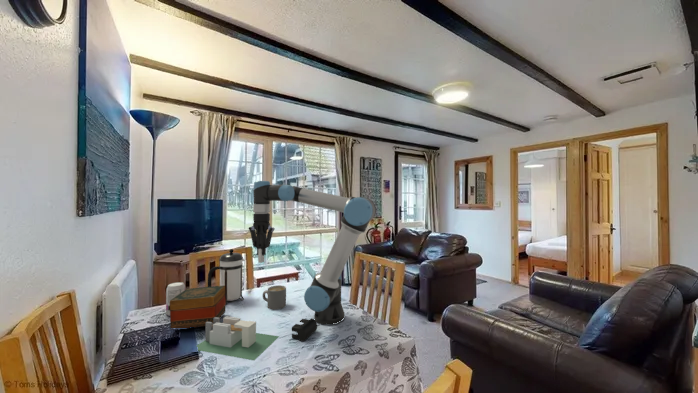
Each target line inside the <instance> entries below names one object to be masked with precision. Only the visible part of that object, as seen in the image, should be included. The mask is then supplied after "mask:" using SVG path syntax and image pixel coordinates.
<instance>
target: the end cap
mask: <svg viewBox="0 0 698 393" xmlns="http://www.w3.org/2000/svg"><path fill="white" fill-rule="evenodd" d="M299 322H300V323H302V324H299V323H295V324H294V325H292V327H291V331H292V332H293V333H292V334H291V338H292V339H295V340H299V342H302V343H303V342H305V341H306V340H307V339H308V338H309V337H310V336H312V335H313V334H314V333H315V332H317V330H318V323H317V322H316V321H315V320H314V318H310V319H306V318H302V319H300V320H299ZM294 332H295V333H296V334H295V333H294Z"/></svg>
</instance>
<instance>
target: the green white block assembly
mask: <svg viewBox="0 0 698 393" xmlns="http://www.w3.org/2000/svg"><path fill="white" fill-rule="evenodd" d="M222 320H223V322H221V317H220V318H218V317H215V318H213V323H214V322H216V323H215V324H213V327H212V322H206V326H205V339H204V340H203V341H201V342H200V343H198V344H197V345H196V346H197V347H198V351H199V352H198V353H200V352H206V353H211V354H216V355H223V356H227V357H232V358H239V359H244V360H249V361H255V360H256V359H257V358H259V357H260V356H261V355H262V354H263V353H264V352H265V351H266V350H267V349H269V347H270V346H271V345H272V344H273V343H274V342H275V341H277V340H278V338H279V337H280V335H279V336H278V335H273V334H266V333H260V332H256V342H254V343H253V344H252V345H251V346H250V347H249V348H248V347H242V331H236V330H231V325H234V324H236V323H237V322H239V321H240V320H241V318H240V317H233V316H225V317H223V319H222Z"/></svg>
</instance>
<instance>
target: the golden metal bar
mask: <svg viewBox="0 0 698 393" xmlns="http://www.w3.org/2000/svg"><path fill="white" fill-rule="evenodd" d="M215 323H216V322H214V323H212V328H213V324H215ZM231 330H236V331H242V329H241V328H235V327H234V325H231Z"/></svg>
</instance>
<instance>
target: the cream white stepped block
mask: <svg viewBox="0 0 698 393" xmlns="http://www.w3.org/2000/svg"><path fill="white" fill-rule="evenodd" d="M234 327H235V328H241V329H242V347H248V348H249V347H250V346H251V345H252V344H253V343H254V342H256V333H257V322H256V321H254V320H242V319H240V321H239V322H237V323H236V324H234Z"/></svg>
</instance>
